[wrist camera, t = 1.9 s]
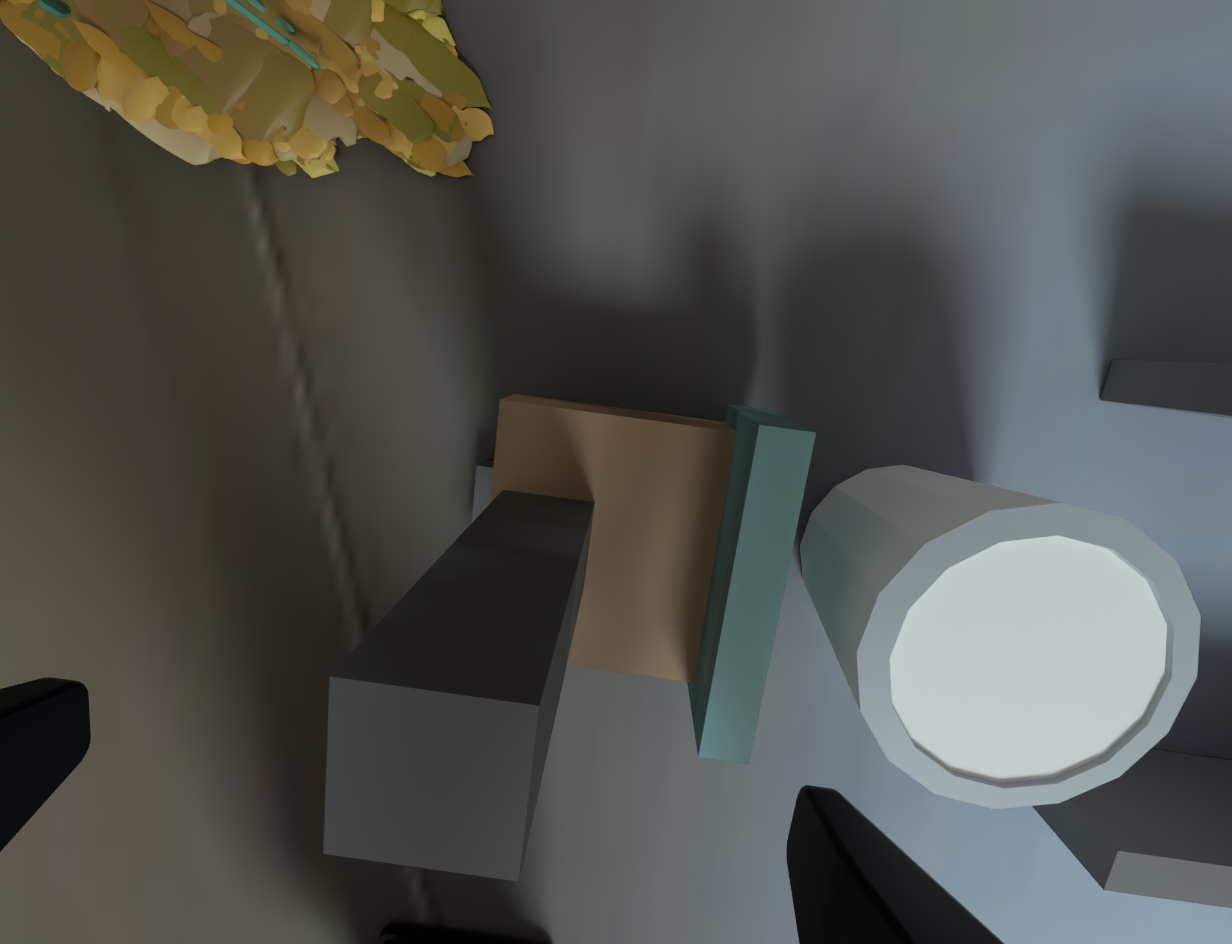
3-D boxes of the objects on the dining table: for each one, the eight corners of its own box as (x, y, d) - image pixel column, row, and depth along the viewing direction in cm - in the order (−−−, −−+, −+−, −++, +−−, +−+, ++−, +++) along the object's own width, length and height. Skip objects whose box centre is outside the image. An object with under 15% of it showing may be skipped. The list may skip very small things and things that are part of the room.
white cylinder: (792, 437, 18) (883, 492, 12) (1021, 451, 18) (1250, 515, 11) (768, 643, 20) (836, 801, 13) (979, 658, 20) (1161, 825, 13)
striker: (492, 634, 19) (294, 1029, 8) (516, 375, 17) (309, 429, 6) (722, 667, 19) (839, 1107, 8) (770, 410, 17) (1001, 524, 6)
